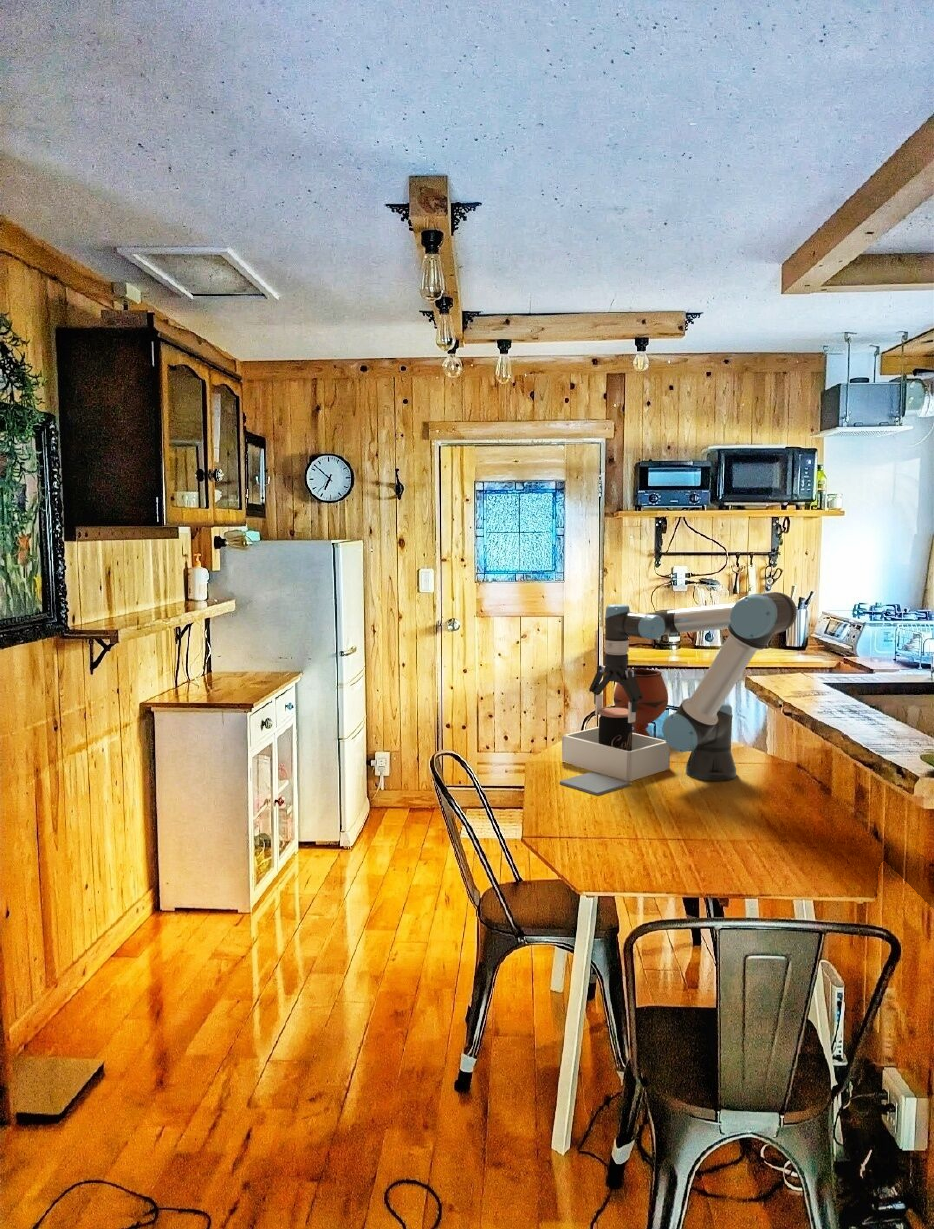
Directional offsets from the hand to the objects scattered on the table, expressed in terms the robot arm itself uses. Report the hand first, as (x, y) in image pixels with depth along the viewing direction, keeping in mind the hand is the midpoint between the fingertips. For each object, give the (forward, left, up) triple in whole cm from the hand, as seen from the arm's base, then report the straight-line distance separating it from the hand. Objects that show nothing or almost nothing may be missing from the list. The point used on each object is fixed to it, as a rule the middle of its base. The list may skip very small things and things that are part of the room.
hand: (614, 718), depth 283 cm
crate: (0, 0, -16) cm, 16 cm away
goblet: (+16, -33, -16) cm, 40 cm away
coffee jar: (0, 0, -16) cm, 16 cm away
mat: (-9, +20, -16) cm, 27 cm away
